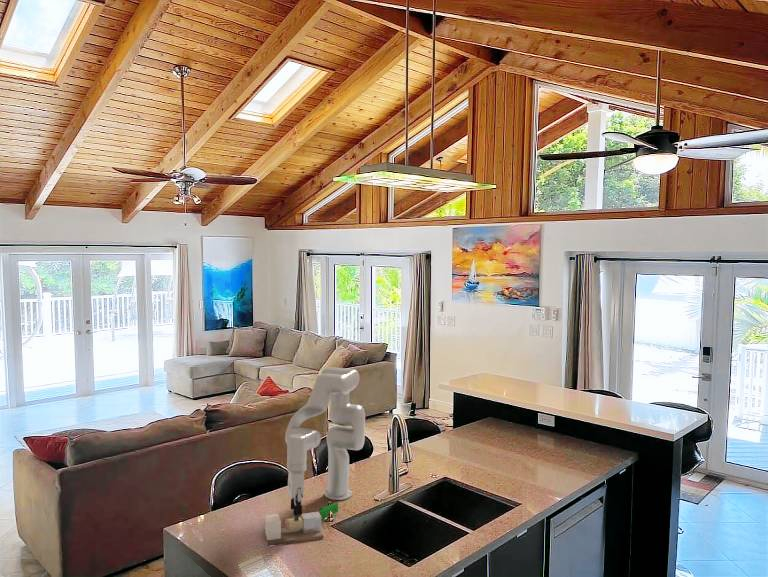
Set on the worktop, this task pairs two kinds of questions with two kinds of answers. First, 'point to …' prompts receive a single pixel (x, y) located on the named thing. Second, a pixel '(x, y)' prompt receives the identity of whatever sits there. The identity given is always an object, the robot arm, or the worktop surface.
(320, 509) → the pipe clamp
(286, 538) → the base board
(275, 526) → the socket
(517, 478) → the worktop surface
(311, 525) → the sleeve
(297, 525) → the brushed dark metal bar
